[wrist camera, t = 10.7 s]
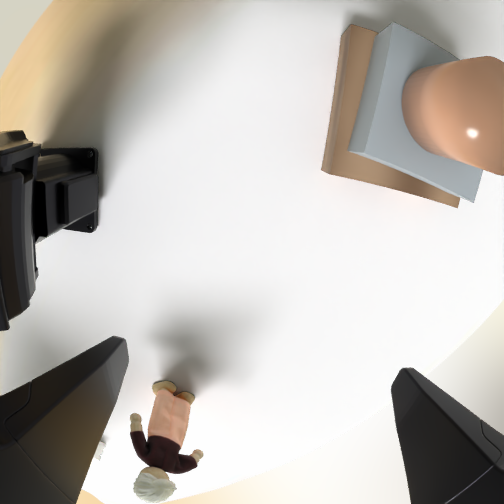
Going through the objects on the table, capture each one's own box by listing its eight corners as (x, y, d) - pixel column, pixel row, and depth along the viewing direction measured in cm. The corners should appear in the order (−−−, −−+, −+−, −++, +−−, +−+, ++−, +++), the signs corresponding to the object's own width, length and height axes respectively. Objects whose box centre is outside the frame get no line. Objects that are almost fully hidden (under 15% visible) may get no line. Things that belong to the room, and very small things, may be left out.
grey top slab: (346, 150, 16) (363, 152, 13) (374, 36, 13) (393, 21, 10) (448, 193, 16) (473, 202, 13) (470, 90, 13) (497, 87, 11)
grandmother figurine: (139, 388, 27) (100, 487, 15) (150, 369, 26) (107, 478, 14) (204, 418, 28) (186, 518, 16) (219, 401, 27) (204, 512, 15)
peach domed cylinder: (394, 140, 13) (452, 152, 8) (407, 52, 10) (464, 34, 6) (463, 166, 13) (522, 189, 8) (475, 88, 11) (535, 90, 6)
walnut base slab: (319, 169, 19) (329, 174, 16) (339, 38, 16) (351, 24, 13) (436, 199, 19) (457, 208, 17) (453, 82, 16) (475, 78, 13)
